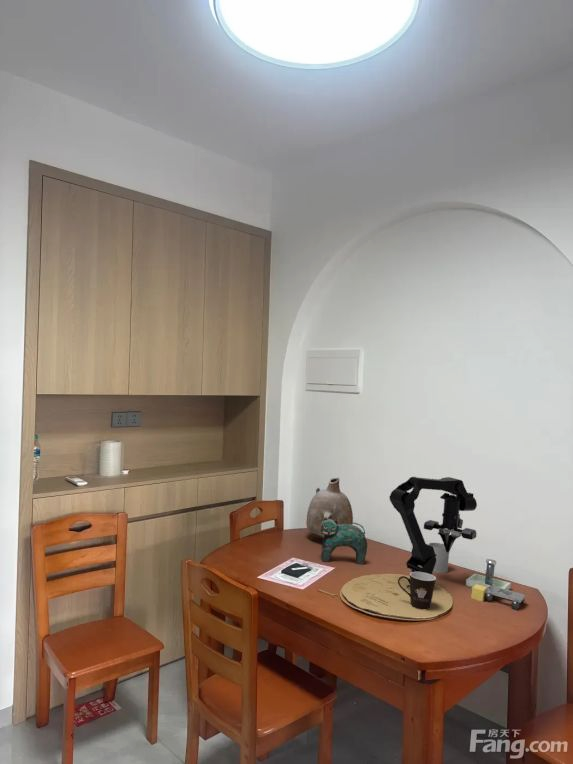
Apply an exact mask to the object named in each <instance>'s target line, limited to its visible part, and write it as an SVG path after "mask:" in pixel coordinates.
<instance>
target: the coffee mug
mask: <svg viewBox="0 0 573 764" xmlns="http://www.w3.org/2000/svg"><path fill="white" fill-rule="evenodd" d="M402 579H406V580H407V581H408V585H409V584H410V588H409V589H410V591H407V590H406V589H405V588H404V587H403V586H402V585H401V583H400V581H401V580H402ZM436 581H437V577H436V576H435V575H433V574H428V573H424V572H411V571H410V573H409V577H407V576H406V575H404V576H403V575H402V576H400V577H399V578H398V580H397V584H398V586H399V587H400V589H401V590H402V591H404V592H405V593H406V594H407V595H408V596H409V598H410V605H412V606H411V607H412V608H414V607H415V609H417V608H418V610H422V609H427V610H429V609H428V608H430V609H431V605H432V600H433V595H434V589H435V584H436Z"/></svg>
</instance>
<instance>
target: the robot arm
mask: <svg viewBox="0 0 573 764" xmlns="http://www.w3.org/2000/svg"><path fill="white" fill-rule="evenodd" d="M422 489H423V490H432V491H433V490H434V491H443V492H444V493H443V494H442V495H441V496H439V498H440V499H442V500H444V502H443V512H442V513H441V514H442V515H441V516H442V523H441V524H440V523H439V521H436V520H432V519H428V520H426V521H425V522H424V524H423V529H424V530H426V531H427V530H428V531H432V530H434V529H435V530H438V531H437V535H439V536H440V539H441V540H442V544H444V546H445V549H446V552H449V553H450V552H451V550H452V547H453V544H454V543H455V540H456V539H459V538H460V537H462V538H463V539H467V540H471V541H472V540H474V539H475V538H477V531H476V529H473V528H468V527H465V528H463V529H462V527H463V524H464V520H463V519H461V518H460V517H461V514H460V512H469V511H476V509H477V507H478V503H477V500H476V498H475V497H474V493H471V492H468V491H467V490H466V487H465V485H464V482H463V480H461V479H458V478H453V477H450V476H447V477H442V478H440V479H438V478H428V477H427V478H426V477H417V476H411V477H409V478H408V479H407V480H406V481H404V482H402V483H401V484H399V485H398V486H397V487H396V488H395V489H393V490H391V493H390V495H389V502H390V503H391V504H392V507H393V508H394V509H395V510H396V511H397V512H398V513H399V514H400V517H401V520H402V523H403V525H404V527H405V530H406V533H407V536H408V538H409V540H410V543H411V546H412V547H411V551H410V552H411V557H409V558H408V560H407V561H406V563H405V564H406V568H407V569H410V570H411V571H410V573H411V572H424V573H428V574H431V575H433V573H434V572H433V569H434V567H435V564H436V557H435V556H437V555H436V554H435V552H434V548H433V547H432V546H430V545H429V543H428V544H427V543H426V541H425V538H424V535H423V533H422V530H421V528H420V525H419V523H418V520H417V517H416V514H415V512H414V511H415V507H416V506H415V505H416V504H415V503H416V502H415V501H416V500H417V499H418V498H419V496H420V493H421V491H422ZM409 491H410V492H409ZM408 587H410V585H409V584H407V585H406V588H408Z"/></svg>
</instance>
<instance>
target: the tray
mask: <svg viewBox="0 0 573 764" xmlns="http://www.w3.org/2000/svg"><path fill="white" fill-rule="evenodd" d="M485 576H486V575H482V574H479V573H474V574H472V575H471V576H469V577H468V578H466V580H465V586H466V587H468V588H471V589H472V587H473V586H474V585H476V584H478V585H481V586H485V587H487V588H488V587H489V586H491V585H487V584H485ZM511 584H512V583H511V582H509V581H506V580H505V581H504V580H503V579H502V580H501V579H497V578H494V577H493V584H492V586H496V587H499V588H503V589H506V590H509V589H510V590H511ZM500 593H503V592H500ZM503 594H506V593H503Z"/></svg>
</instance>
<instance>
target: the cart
mask: <svg viewBox="0 0 573 764" xmlns="http://www.w3.org/2000/svg"><path fill="white" fill-rule="evenodd" d="M500 592H503V593H506V594H503V593H500ZM485 593H487V594H486V595H485V600H484V601H486V602H488V603H489V602H492V601H493V599H494V598H493V597H500V598H503V599H507V600H510V601H512V602H511V603H510V606H511V609H513V610H515V611H516V610H518V609H519V608H520V604H523V603H525V601H526V599H525V598H526V594H525V593H521V592H517V591H513V590H511V589H510V590H506V589H503V588H499V587H496V586H492V585H491V586H489V587H488V588H487V589H486V590H485Z"/></svg>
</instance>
